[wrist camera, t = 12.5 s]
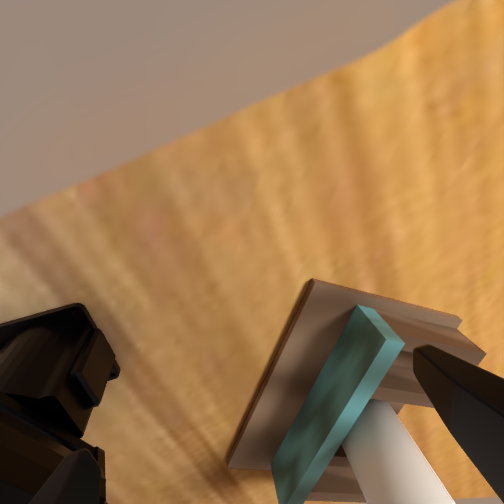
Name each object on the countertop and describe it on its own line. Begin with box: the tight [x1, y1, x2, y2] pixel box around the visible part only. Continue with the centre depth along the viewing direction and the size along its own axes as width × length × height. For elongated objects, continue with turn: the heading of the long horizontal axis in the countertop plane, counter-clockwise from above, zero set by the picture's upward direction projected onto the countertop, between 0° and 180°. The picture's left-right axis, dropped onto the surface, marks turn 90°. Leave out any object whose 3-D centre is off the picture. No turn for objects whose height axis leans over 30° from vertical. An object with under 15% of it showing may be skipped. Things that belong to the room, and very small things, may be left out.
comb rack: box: [227, 278, 486, 504], centre depth 26 cm, size 20×14×5 cm
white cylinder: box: [342, 399, 456, 504], centre depth 22 cm, size 5×5×13 cm
